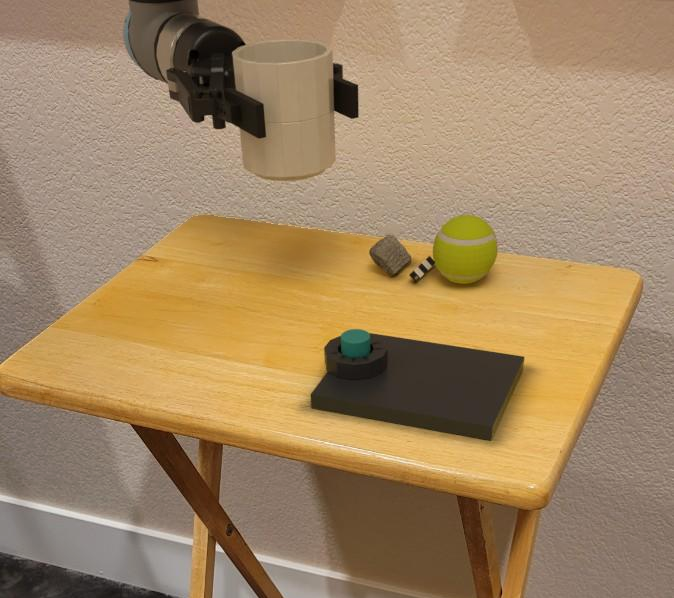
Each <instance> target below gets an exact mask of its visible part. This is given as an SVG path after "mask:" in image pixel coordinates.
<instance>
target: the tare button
mask: <svg viewBox="0 0 674 598" xmlns="http://www.w3.org/2000/svg"><path fill="white" fill-rule="evenodd" d="M369 333H370V332H368V331H367V330H365V329H360V328H352V329H347V330H345V331H343V332H342V333H341V335H340V336H341V353H342V354H343V355H345V356H349V357H362V356H365V355H368V354H370V334H369Z"/></svg>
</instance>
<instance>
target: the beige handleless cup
mask: <svg viewBox="0 0 674 598" xmlns="http://www.w3.org/2000/svg"><path fill="white" fill-rule="evenodd" d="M333 51H334V50H333V49H332V47H331V46H330V44H327V43H324V42H321V41H317V40H313V39H312V40H311V39H301V38H299V39H297V38H283V39H282V38H281V39H269V40H268V39H266V40H261V41H256V42H255V41H254V42H251V43H246V45H244V46H241V47H238V48H237V49H236V50H234V51H233V52H232V60H233V70H234V80H235V90H237V91H239V92H241V93H243V94H245V95H247V96H249V97H251V98H253V99H255V100H257V101H259V102H261V103H263V104H264V116H265V129H266V137H265V138H260V139H258V138H256V137H255V136H253V135H251V134H249V133H248V132H246V131H244V130H242V129H240V128H239V127H238V131H239V141H240V149H241V160H242V161H241V162H242V167H243V169H245V170H246V171H248V172H249V173H251V174H253V175H255V177H258V178H260V179H264V180H268V181H274V182H293V181H303V180H307V179H311V178H314V177H316V176H320V175H321V174H323V173H324V172H325V171H326V170H327V169H330V168H331V167H332V166H333V165H334V163H335V162H336V159H337V157H336V156H337V155H336V127H335V125H336V124H335V123H336V122H335V121H336V120H335V111H334V85H333V63H334V56H333V55H334V53H333Z"/></svg>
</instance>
